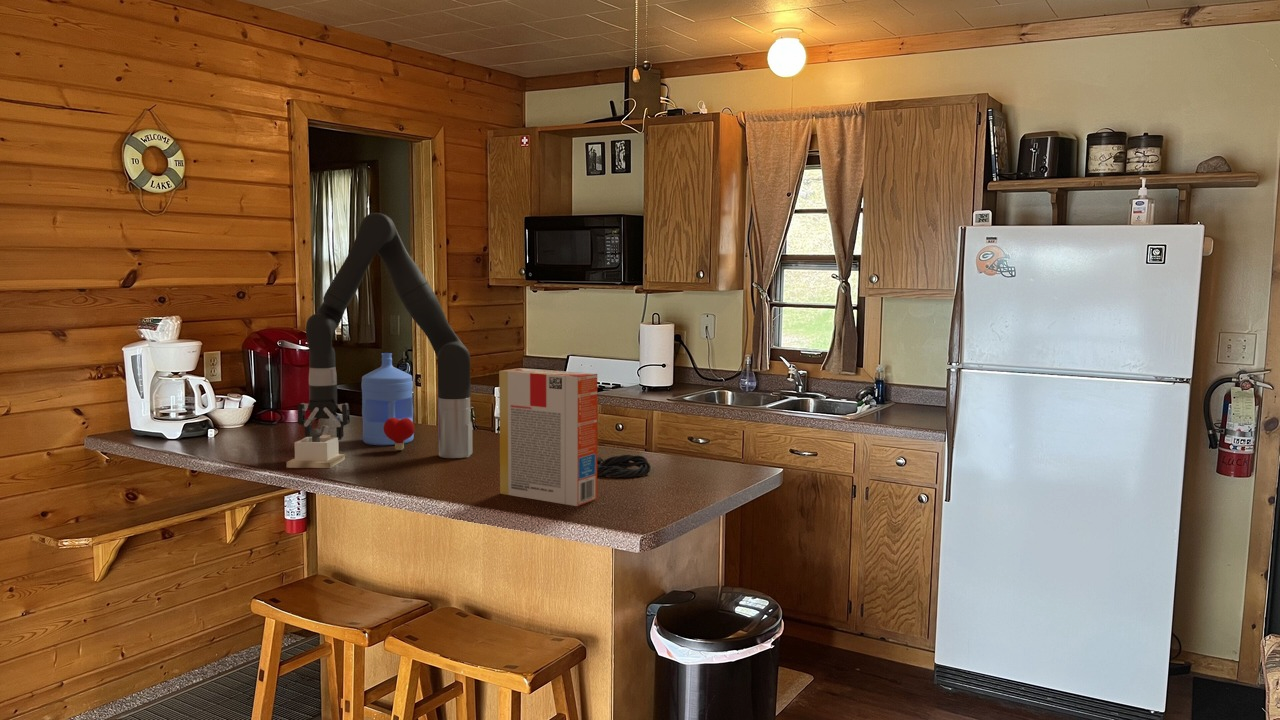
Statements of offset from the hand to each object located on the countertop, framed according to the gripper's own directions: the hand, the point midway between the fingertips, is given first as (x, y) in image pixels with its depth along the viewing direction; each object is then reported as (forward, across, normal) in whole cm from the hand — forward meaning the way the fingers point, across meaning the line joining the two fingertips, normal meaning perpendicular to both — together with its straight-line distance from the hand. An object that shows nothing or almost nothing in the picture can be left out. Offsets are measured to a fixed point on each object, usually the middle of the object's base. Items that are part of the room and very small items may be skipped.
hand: (324, 439), depth 265 cm
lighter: (+6, +5, -8) cm, 11 cm away
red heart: (+6, -18, -12) cm, 23 cm away
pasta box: (+6, -69, +42) cm, 81 cm away
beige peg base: (+6, 0, +6) cm, 9 cm away
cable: (+6, -85, +14) cm, 86 cm away
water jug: (+6, -10, -28) cm, 31 cm away
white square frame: (+4, 0, +4) cm, 6 cm away
